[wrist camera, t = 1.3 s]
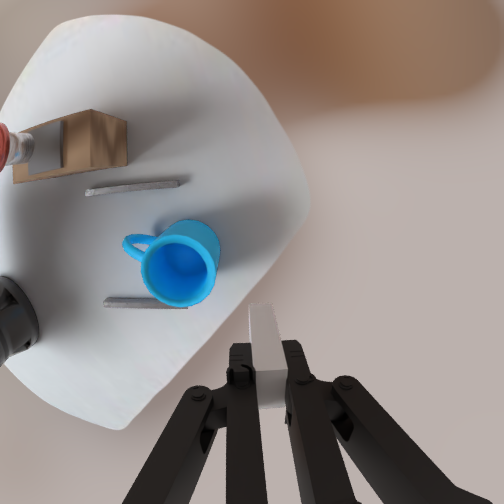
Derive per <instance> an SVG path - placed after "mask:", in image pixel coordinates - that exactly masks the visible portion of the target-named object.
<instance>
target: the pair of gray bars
mask: <svg viewBox="0 0 504 504" xmlns="http://www.w3.org/2000/svg"><path fill="white" fill-rule="evenodd" d="M174 187H179V180H174V181H161V182H150V183H139V184H129V185H120V186H112V187H103V188H96V189H89V190H85V194H86V196H92V195H100V194H108V193H117V192H127V191H137V190H148V189H160V188H174ZM103 304H104V307H114V308H150V309H188V307H176V306H170V305H167V304H165V303H163V302H161V301H159V300H158V299H136V298H106V299H105V301H104V302H103Z"/></svg>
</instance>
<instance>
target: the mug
mask: <svg viewBox="0 0 504 504" xmlns="http://www.w3.org/2000/svg"><path fill="white" fill-rule="evenodd" d="M136 243H139V244H148V245H150V246H149V247H148V248H147V249H146V251H145V252H144V251H141V250H140V249H138V248H136V247H134V246H133V245H132V244H136ZM122 246H123V248H124V251H125V252H126V253H128V254H129V255H130V256H131V257H133V258H134V259H136V260H138V261H140V262H141V274H142V278H143V281H144V284H145V285H146V287H147V289H148V290H149V292H150V293H151V294H152V295H153V296H154V297H156V298H157V299H158V300H159V301H161V302H163V303H165V304H167V305H170V306H176V307H188V306H193V305H195V304H197V303H199V302H201V301H202V300H204V299H205V298H206V297H207V296H208V295H209V294H210V292H211V290H212V288H213V286H214V284H215V279H216V273H217V268H218V263H219V257H220V251H221V250H220V245H219V240H218V238H217V236H216V235H215V233H214V232H213V231H212V230H211V229H210V228H209V227H208V226H207V225H205V224H203V223H201V222H199V221H195V220H189V219H188V220H182V221H178V222H176V223H174V224H173V225H171V226H170V227H169V228H167V229H166V230H165V231H164V232H163V233H162V234H161V235H160V236H159V237H155V236H150V235H143V234H131V235H129V236H126V237H125V238H124V240H123V242H122Z"/></svg>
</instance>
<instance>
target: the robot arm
mask: <svg viewBox="0 0 504 504" xmlns="http://www.w3.org/2000/svg"><path fill="white" fill-rule="evenodd" d="M38 334H39V328H38V322H37V318H36V315H35V312H34V310H33V308H32V306H31V304H30V302H29V300H28V298H27V297H26V295H25V294H24V293H23V291H22V290H21V289H20V288H19V287H18V286H17V285H16V284H15V283H14V282H13V281H11V280H10V279H8V278H6V277H0V367H1V366H2V364H3V363H4V362H5V361H6V360H7V359H8V358H9V357H11V356H13V355H15V354H18V353H20V352H23V351H25V350H27V349H29V348H30V347H31V346H32V345H33V344H34V343H35V342H36V341H37V338H38ZM249 337H250V343H233V345H232V346H231V348H230V352H229V367H228V368H227V371H226V373H227V383H226V384H225V385H224V386H223V387H221V388H218V389H215V390H210V389H209V388H208V387H205V386H193V387H190V388H189V389H187V390H186V391H185V393H184V394H183V396H182V398H181V400H180V402H179V403H178V405H177V407H176V409H175V411H174V412H173V414H172V416H171V418H170V420H169V421H168V423H167V425H166V427H165V429H164V430H163V432H162V434H161V436H160V437H159V439H158V441H157V443H156V444H155V446H154V448H153V450H152V452H151V453H150V455H149V457H148V459H147V461H146V462H145V464H144V466H143V468H142V469H141V471H140V473H139V475H138V476H137V478H136V480H135V482H134V483H133V485H132V487H131V489H130V490H129V492H128V494H127V496H126V497H125V499H124V501H123V503H122V504H189V502H190V499H191V497H192V494H193V492H194V490H195V487H196V485H197V482H198V480H199V477H200V475H201V472H202V470H203V467H204V465H205V462H206V459H207V457H208V454H209V452H210V449H211V447H212V444H213V441H214V439H215V436H216V434H217V431H218V429H219V428H223V427H227V434H226V504H268V501H267V491H266V481H265V471H264V463H263V462H264V461H263V451H262V441H261V431H260V422H259V410H258V409H268V408H282V407H285V404H286V416H285V424H287V425H288V431H289V436H290V442H291V446H292V453H293V458H294V464H295V469H296V475H297V480H298V486H299V491H300V497H301V502H302V504H362V503H360V502H357V500H356V499H355V496H354V493H353V489H352V487H351V483H350V480H349V477H348V473H347V470H346V467H345V464H344V461H343V458H342V455H341V451H340V448H339V445H338V442H337V439H338V440H339V442H340V443H341V445H342V446H343V448H344V449H345V450H346V452H347V453H348V455H349V456H350V458H351V459H352V461H353V462H354V463H355V465H356V466H357V468H358V469H359V470H360V472H361V473H362V475H363V476H364V477H365V479H366V480H367V482H368V483H369V484H370V486H371V487H372V488H373V490H374V491H375V492H376V494H377V495H378V497H379V498H380V499H381V500H382V502H383V503H384V504H492V502H490V501H489V500H487V499H484V498H482V497H480V496H477V495H474V494H472V493H470V492H468V491H465V490H463V489H461V488H458V487H456V486H455V485H454V484H453V483H452V482H451V481H450V480H449V479H448V478H447V477H446V476H445V474H444V473H443V472H442V471H441V470H440V469H439V468H438V467H437V466H436V465H435V464H434V463H433V462H432V460H431V459H430V458H429V457H428V456H427V455H426V454H425V453H424V452H423V451H422V450H421V449H420V448H419V447H418V445H417V444H416V443H415V442H414V441H413V440H412V439H411V438H410V437H409V436H408V435H407V434H406V432H405V431H404V430H403V429H402V428H401V427H400V426H399V425H398V424H397V423H396V422H395V421H394V419H393V418H392V417H391V416H390V415H389V414H388V413H387V412H386V411H385V410H384V409H383V407H382V406H381V405H379V403H378V402H377V401H376V400H375V399H374V398H373V397H372V395H371V394H370V393H369V392H368V391H367V390H366V389H365V388H364V387H363V386H362V384H361V383H360V382H359V381H358V380H357V379H355V378H354V377H351V376H346V375H344V376H339V377H337V378H336V379H335V380H334V381H333V382H326V381H320V380H318V379H316V377H315V376H314V375H313V374H311V373H310V370H309V367H308V364H307V361H306V358H305V355H304V352H303V349H302V346H301V344H300V343H299V342H298V341H297V340H285V341H281V338H280V334H279V330H278V326H277V322H276V318H275V314H274V309H273V305H272V303H253V304H249ZM336 438H337V439H336Z"/></svg>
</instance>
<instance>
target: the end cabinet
mask: <svg viewBox="0 0 504 504" xmlns="http://www.w3.org/2000/svg"><path fill="white" fill-rule="evenodd" d="M18 133H29V134H31V135H32V137H33V139H34V143H35V147H34V153H33V155H32V157H31V159H30V160H29V161H28V162H27V163H26V164H18V165H13V184H18V183H23V182H29V181H35V180H42V179H49V178H56V177H61V176H66V175H72V174H77V173H83V172H88V171H95V170H101V169H107V168H114V167H122V166H127V122H126V121H124V120H121V119H118V118H115V117H112V116H110V115H107V114H104V113H101V112H98V111H95V110H92V109H89V110H85V111H82V112H78V113H74V114H71V115H67V116H64V117H61V118H58V119H54V120H51V121H48V122H45V123H43V124H40V125H37V126H34V127H31V128H29V129H26V130H24V131H21V132H18Z"/></svg>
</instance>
